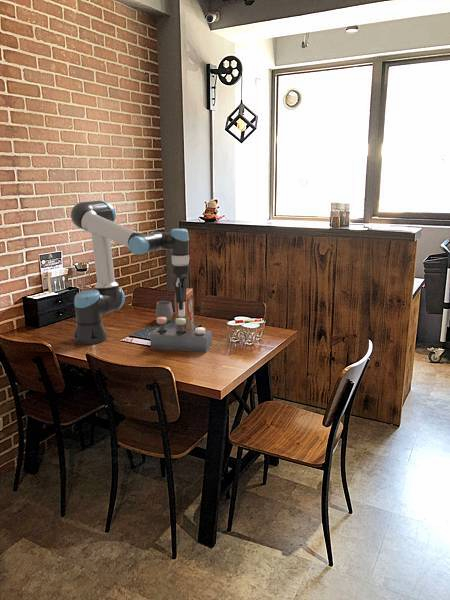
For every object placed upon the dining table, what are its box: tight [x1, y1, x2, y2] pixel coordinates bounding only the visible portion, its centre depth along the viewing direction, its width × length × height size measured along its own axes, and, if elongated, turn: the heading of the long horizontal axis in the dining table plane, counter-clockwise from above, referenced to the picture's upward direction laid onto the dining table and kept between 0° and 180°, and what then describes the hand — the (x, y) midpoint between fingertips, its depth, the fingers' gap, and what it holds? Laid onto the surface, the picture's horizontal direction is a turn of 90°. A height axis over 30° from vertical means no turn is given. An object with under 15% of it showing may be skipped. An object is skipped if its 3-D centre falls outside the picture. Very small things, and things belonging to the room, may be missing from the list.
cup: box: [155, 300, 174, 322], centre depth 269 cm, size 10×9×10 cm
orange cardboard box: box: [174, 288, 195, 330], centre depth 246 cm, size 21×7×15 cm
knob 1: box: [155, 317, 168, 333], centre depth 228 cm, size 5×5×8 cm
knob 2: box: [194, 326, 206, 335], centre depth 226 cm, size 5×5×8 cm
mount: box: [149, 327, 213, 353], centre depth 228 cm, size 26×10×7 cm, turn 78°
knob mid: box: [175, 318, 186, 334], centre depth 227 cm, size 5×5×8 cm
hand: (181, 315), depth 225 cm, fingers closed
